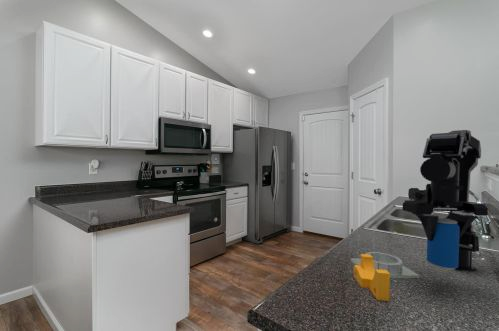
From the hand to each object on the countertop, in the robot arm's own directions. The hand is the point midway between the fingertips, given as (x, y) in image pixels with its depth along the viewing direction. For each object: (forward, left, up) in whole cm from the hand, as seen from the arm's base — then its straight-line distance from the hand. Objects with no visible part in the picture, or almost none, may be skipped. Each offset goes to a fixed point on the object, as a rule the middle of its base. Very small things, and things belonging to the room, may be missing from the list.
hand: (442, 240), depth 63 cm
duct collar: (+9, -11, -12) cm, 19 cm away
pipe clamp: (+19, 0, -13) cm, 23 cm away
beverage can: (0, 0, -7) cm, 7 cm away
